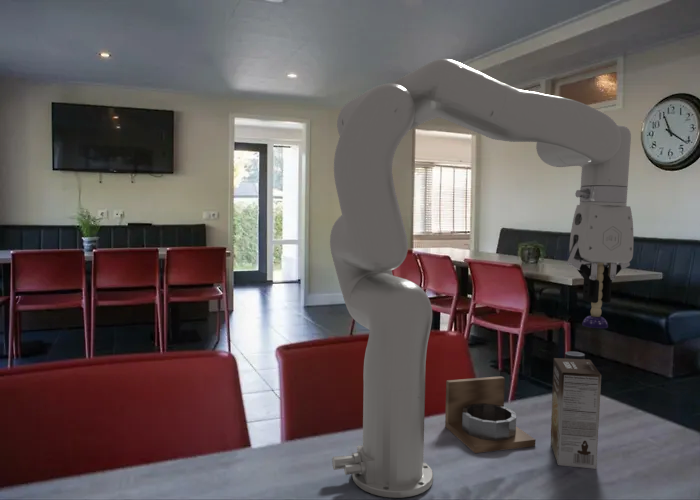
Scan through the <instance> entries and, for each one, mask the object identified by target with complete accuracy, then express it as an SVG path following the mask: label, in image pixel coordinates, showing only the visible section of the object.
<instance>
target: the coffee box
mask: <svg viewBox="0 0 700 500" xmlns="http://www.w3.org/2000/svg"><path fill="white" fill-rule="evenodd" d="M552 370H553V371H552V393H551V395H552V396H551V397H552V398H551V419H550V421H551V423H550V444H551V445H550V446H551V448H552V451H553V454H554V457H555V460H556V464H557V465H558V466H561V467H562V466H563V467H572V468H586V469H593V470H594V469H596V470H597V466H598V463H597V462H598V446H599V445H598V443H599V442H598V441H599V423H600V406H601V391H602V389H601V387H602V386H601V385H602V374H601V373H600V371H599V370H598V368H597V367H596V366H595V364H594V363H593V361H592V360H591V359H586V358H585V359H565V357H564V358H563V357H562V358H561V357H560V358H559V357H553V369H552Z"/></svg>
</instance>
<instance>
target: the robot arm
mask: <svg viewBox="0 0 700 500" xmlns="http://www.w3.org/2000/svg"><path fill="white" fill-rule="evenodd" d="M435 119H443V120H446V121H448V122H451V123H452V124H456V125H458V126H460V127H462V128H465V129H467V130H470V131H473V132H475V133H477V134H480V135H482V136H485V137H486V138H489V139H491V140H495V141H500V142H501V141H503V142H510V143H512V142H513V143H526V142H529V143H536V146H535V148H536V149H535V150H536V153H537V155H538V157H539V159H540V160H541V161H542V162H543V163H544V164H547V165H549V166H551V167H555V168H568V167H580V168H581V176H580V189H577V190H576V191H575V195H574V196H575V197H576V198H579V204H577V205H576V208H575V210H574V214H573V218H572V222H571V223H572V224H571V230H570V236H569V237H570V239H569V257H568V259H567V261H566V263H567V265H568V266H569V267H571V268H573V269H575V270H576V271H577V272H578V273H579V275H580V277H581V279H583V285H582V286H583V288H582V290H583V291H582V300H583V301H585V302H588V303H591V302H592V303H597V302H598V296H599V280H596V278H597V264H598V262H599V263H604V264H603V266H604V272H603V277H604V278H603V281H602V283H603V289H602V293H603V296H602V299H601V300H602V303H608V304H610V303H611V299H612V285H613V281H615V280H616V278H617V275H618V274H619V273H620V272H621V271H622V270H624V269H626V268H628V267H630V266H631V263H630V262H631V261H632V259H633V257H634V221H633V214H632V210H631V206H629V205H628V206H627V203H628V188H629V187H628V186H629V171H630V170H629V169H630V168H629V167H630V157H631V156H630V155H631V154H630V153H631V143H632V142H631V140H632V134H631V131H630V129H629V128H628V127H626V126H625V125H620V124H617V123H616V121H614V119H613V118H611V117H610V116H609V115H607V114H606V113H604V112H602V111H600V110H599V109H596V108H595V107H592V106H591V105H587V104H586V103H583V102H580V101H578V100H575V99H570V98H566V97H562V96H557V95H551V94H545V93H542V92H537V91H531V90H530V91H529V90H524V89H520V88H516V87H513V86H511V85H509V84H507V83H504V82H502V81H499V80H498V79H495V78H493V77H491V76H489V75H487V74H486V73H483V72H481V71H479V70H476V69H474V68H472V67H471V66H468V65H466V64H463V63H462V62H459V61H456V60H454V59H450V58H438V59H434V60H432V61H430V62H428V63H426V64H424V65H422V66H420V67H418V68H417V69H415V70H413V71H411V72H409V73H407V74H406V75H404V76H402V77H399V78H397V79H395V80H394V81H392V82H389V83H383V84H379V85H375V86H374V87H372V88H370V89H368V90H365V92H363V93H361V94H360V95H358V96H355V97H354V98H352V99H350V100H349V101H348V102H346V103H345V104H344V106H342V108H341V109H340V112H339V113H338V116H337V119H336V122H337V123H336V126H337V127H336V128H337V133H338V135H339V137H338V140H337V145H336V149H335V152H334V158H333V175H334V183H335V189H336V193H337V197H338V202H339V207H340V211H341V215H340V216H339V217H338V218H337V219H336V221H335V222H334V224H333V226H332V228H331V231H330V236H329V237H330V238H329V245H330V247H329V248H330V253H331V257H332V260H333V261H332V262H333V265H334V268H335V272H336V276H337V280H338V284H339V286H340V290H341V294H342V298H343V301H344V304H345V306H346V309H347V311H348V313H349V315H350V317H351V318H352V319H353V320H354V321H355V322H356V323H358V324H359V325H360V326H362V327H363V328H365V329H367V330H369V331H368V332H369V333H368V339H367V344H366V348H365V353H364V357H363V358H364V359H363V398H362V399H363V403H362V405H363V408H362V416H363V417H362V445H357V446H356V448H357V449H356V450H357V451H356V452H351V455H337V456H332V459H331V460H332V461H331V464H332V469H333V470H334V471H338V470H343V472H344V475H345V476H347V475H351V476H352V479H353V482H354V484H355V485H356V486H357V487H359V488H360V489H361V490H363V491H364V492H367V493H369V494H371V495H374V496H378V497H384V498H390V499H392V498H393V499H398V498H399V499H401V498H403V499H404V498H410V497H414V496H418V495H420V494H423V493H425V492H427V491H428V490H429V489H430V488H431V486H432V485H433V483H434V472H433V470H432V468H431V467H430V466H429V465H428V464H427V463H426V462H424V457H425V456H424V453H425V447H424V446H425V411H426V410H425V404H426V401H425V400H426V361H427V350H428V342H429V338H430V334H431V329H432V323H433V308H432V303H431V300H430V298H429V297H428V295H427V293H426V292H425V290H424V289H422V287H421V286H419V285H418V284H416V283H415V282H413V281H411V280H409V279H406V278H403V277H399V276H395V275H393V270H396V269H397V268H399V267H400V266H401V265H402V264H403V262H404V261H405V260H406V258H407V255H408V248H409V242H408V237H407V236H408V235H407V232H406V228H405V225H404V220H403V217H402V213H401V212H402V211H401V208H400V204H399V200H398V197H397V193H396V187H395V182H394V177H393V161H394V157H395V153H396V152H397V149H398V147H399V145H400V143H401V141H402V140H403V139H404V138H405V136H406V135H407V134H408V132H409V131H411V130H413V129H414V128H417V127H419V126H420V125H422V124H424V123H427V122H429V121H433V120H435Z"/></svg>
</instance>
